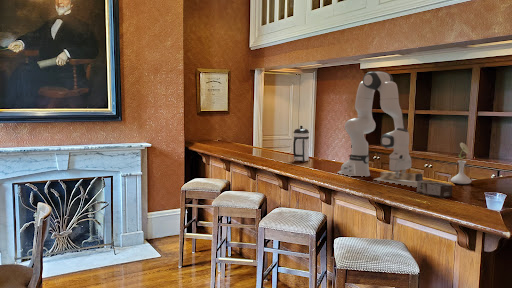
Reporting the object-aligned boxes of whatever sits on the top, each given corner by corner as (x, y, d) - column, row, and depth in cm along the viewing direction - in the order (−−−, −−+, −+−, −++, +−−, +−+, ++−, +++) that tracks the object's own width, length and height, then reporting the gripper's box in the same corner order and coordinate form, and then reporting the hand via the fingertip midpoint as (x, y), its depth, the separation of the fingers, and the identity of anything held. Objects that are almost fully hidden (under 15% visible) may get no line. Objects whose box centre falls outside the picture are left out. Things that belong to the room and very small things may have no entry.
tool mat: (373, 180, 262) (373, 178, 262) (384, 177, 270) (384, 176, 270) (418, 187, 239) (418, 186, 239) (428, 184, 247) (428, 183, 247)
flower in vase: (472, 186, 243) (474, 144, 241) (451, 184, 247) (453, 143, 244) (469, 181, 256) (471, 141, 253) (449, 180, 259) (451, 141, 257)
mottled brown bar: (380, 178, 263) (380, 172, 263) (384, 177, 265) (383, 171, 265) (419, 181, 243) (419, 174, 243) (422, 180, 245) (422, 173, 245)
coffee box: (416, 192, 229) (439, 198, 214) (416, 180, 228) (440, 186, 213) (428, 190, 232) (452, 196, 218) (429, 179, 232) (453, 184, 217)
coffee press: (289, 160, 349) (289, 125, 346) (307, 159, 351) (308, 124, 347) (293, 163, 332) (293, 126, 329) (312, 163, 334) (313, 126, 330)
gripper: (405, 152, 262) (404, 174, 263) (387, 155, 248) (387, 178, 250) (414, 153, 257) (413, 175, 259) (397, 156, 244) (396, 179, 245)
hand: (400, 176), depth 254 cm, fingers closed on mottled brown bar, 4 cm apart
